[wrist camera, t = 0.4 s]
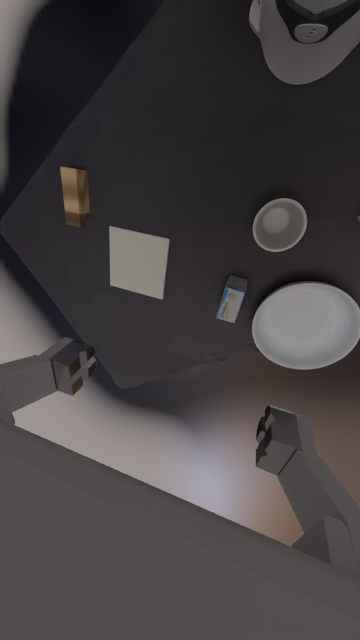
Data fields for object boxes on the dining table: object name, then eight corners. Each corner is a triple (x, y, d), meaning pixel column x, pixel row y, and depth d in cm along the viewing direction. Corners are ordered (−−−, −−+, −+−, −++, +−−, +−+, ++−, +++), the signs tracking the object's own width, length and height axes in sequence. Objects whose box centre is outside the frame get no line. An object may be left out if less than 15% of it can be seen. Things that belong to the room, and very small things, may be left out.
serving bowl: (376, 310, 49) (391, 325, 43) (300, 365, 60) (304, 384, 54) (297, 253, 48) (301, 261, 42) (235, 320, 60) (232, 334, 54)
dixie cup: (245, 224, 48) (242, 230, 40) (276, 187, 44) (280, 186, 36) (274, 250, 49) (277, 261, 41) (308, 216, 45) (319, 221, 36)
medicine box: (238, 308, 58) (235, 324, 51) (221, 303, 59) (215, 318, 51) (248, 279, 54) (246, 292, 46) (230, 274, 54) (225, 286, 47)
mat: (110, 225, 58) (109, 226, 57) (170, 238, 55) (169, 239, 54) (111, 284, 66) (110, 285, 65) (163, 298, 63) (162, 299, 62)
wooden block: (72, 168, 54) (60, 166, 51) (87, 170, 53) (75, 169, 50) (77, 222, 60) (66, 224, 57) (90, 225, 59) (80, 227, 56)
